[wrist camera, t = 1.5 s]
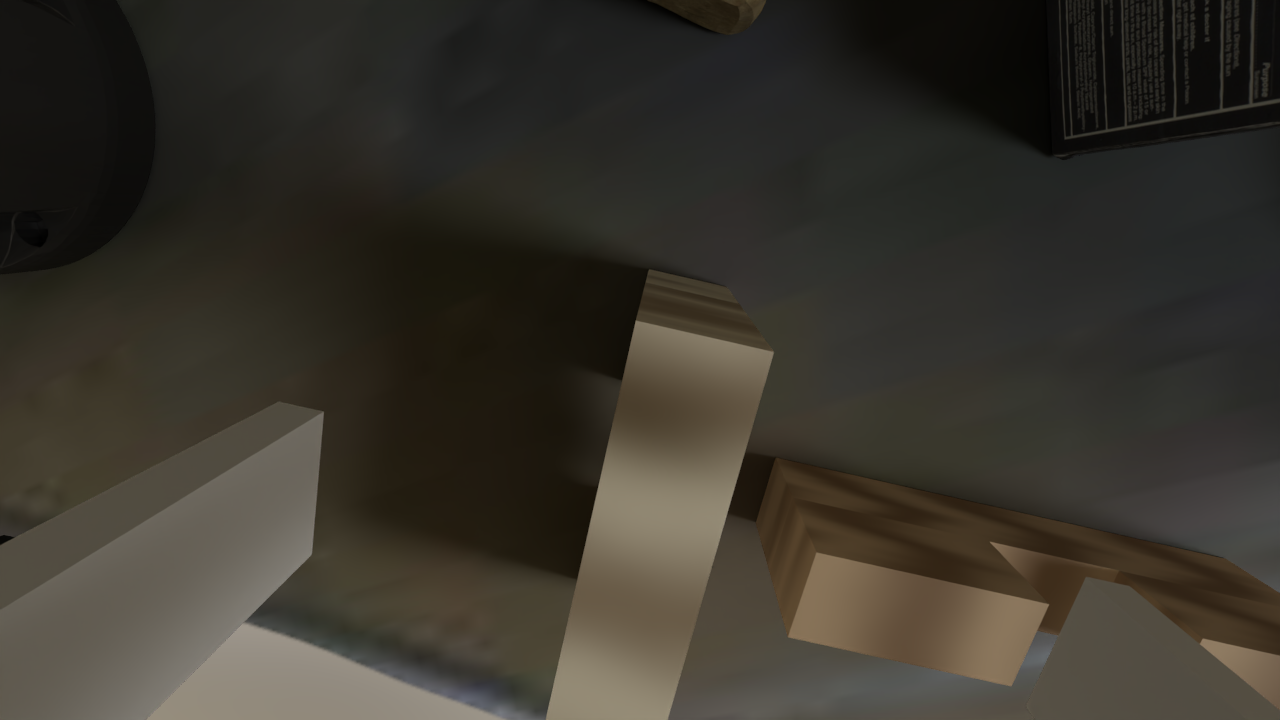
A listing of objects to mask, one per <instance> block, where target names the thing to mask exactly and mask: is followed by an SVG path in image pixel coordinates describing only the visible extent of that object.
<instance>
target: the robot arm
mask: <svg viewBox="0 0 1280 720" xmlns="http://www.w3.org/2000/svg"><path fill="white" fill-rule="evenodd" d="M154 145H155V114H154V103H153V97H152V90H151V86H150V81H149V77H148V73H147V69H146V66H145V62H144V59H143V56H142V54H141V51H140V48H139V45H138V43H137V41H136V38H135V36H134V34H133V31H132V29H131V27H130V25H129V23H128V21H127V19H126V17H125V15H124V14H123V12H122V10H121V8H120V7H119V5H118V3H117V2H116V0H0V274H9V273H19V272H28V271H38V270H46V269H52V268H56V267H61V266H64V265H67V264H70V263H73V262H75V261H78V260H80V259H82V258H84V257H86V256H88V255H90V254H92V253H93V252H95V251H96V250H98V249H100V248H101V247H102V246H103V245H105V244H106V243H107V242H109V241H110V240H111V239H112V238H113V237H114V236H115V235H116V234H117V233H118V232H119V231H120V230H121V228H122V227H123V226H124V225H125V224H126V222H127V221H128V219H129V218H130V217H131V215H132V214H133V212H134V210H135V208H136V207H137V205H138V203H139V201H140V199H141V197H142V195H143V192H144V189H145V187H146V184H147V181H148V177H149V174H150V170H151V165H152V160H153V153H154ZM323 417H324V411H319V410H315V409H310V408H305V407H301V406H296V405H292V404H287V403H282V402H277V403H275V404H273V405H271V406H269V407H267V408H265V409H264V410H262V411H260V412H258V413H256V414H254V415H252V416H250V417H248V418H246V419H244V420H242V421H240V422H238V423H236V424H234V425H232V426H231V427H229V428H227V429H225V430H223V431H221V432H219V433H217V434H215V435H213V436H211V437H209V438H207V439H205V440H203V441H201V442H199V443H198V444H196V445H194V446H192V447H190V448H188V449H186V450H184V451H182V452H180V453H178V454H176V455H174V456H172V457H170V458H168V459H167V460H165V461H163V462H161V463H159V464H157V465H155V466H153V467H151V468H149V469H147V470H145V471H143V472H141V473H139V474H137V475H135V476H134V477H132V478H130V479H128V480H126V481H124V482H122V483H120V484H118V485H116V486H114V487H112V488H110V489H108V490H106V491H104V492H103V493H101V494H99V495H97V496H95V497H93V498H91V499H89V500H87V501H85V502H83V503H81V504H79V505H77V506H75V507H73V508H71V509H70V510H68V511H66V512H64V513H62V514H60V515H58V516H56V517H54V518H52V519H50V520H48V521H46V522H44V523H42V524H40V525H38V526H37V527H35V528H33V529H31V530H29V531H27V532H25V533H23V534H21V535H19V536H17V537H11V536H6V535H3V536H0V720H146V719H147V718H148V717H149V716H150V715H151V714H152V713H153V712H154V711H155V710H156V709H157V708H158V707H159V706H160V705H161V704H162V703H163V702H164V701H165V700H166V699H167V698H168V697H169V696H170V695H171V694H172V693H173V692H174V691H175V690H176V689H177V688H178V687H179V686H180V685H181V684H182V683H183V682H184V681H185V680H186V679H187V678H188V677H189V676H190V675H191V674H192V673H193V672H194V671H195V670H196V669H197V668H198V667H199V666H200V665H201V664H202V663H203V662H204V661H205V660H206V659H207V658H208V657H209V656H210V655H211V654H212V653H213V652H214V651H215V650H216V649H217V648H218V647H219V646H220V645H221V644H222V643H223V642H224V641H225V640H226V639H227V638H228V637H229V636H230V635H231V634H232V633H233V632H234V631H235V630H236V629H237V628H238V627H239V626H240V625H241V624H242V623H243V622H245V621H246V620H247V619H248V618H249V617H250V616H251V615H252V614H253V613H254V612H255V611H256V610H257V609H258V608H259V607H260V606H261V605H262V604H263V603H264V602H265V601H266V600H267V599H268V598H269V597H270V596H271V595H272V594H273V593H274V592H275V591H276V590H277V589H278V588H279V587H280V586H281V585H282V584H283V583H284V582H285V581H286V580H287V579H288V578H289V577H290V576H291V575H292V574H293V573H294V572H295V571H296V570H297V569H298V568H299V567H300V566H301V565H302V564H303V563H304V562H305V561H306V560H307V559H308V558H309V557H310V556H311V555H312V546H313V534H314V522H315V511H316V499H317V487H318V476H319V464H320V452H321V441H322V429H323ZM1026 708H1027V709H1028V711H1029V712H1030V714H1031V715H1032V716H1033V718H1034V719H1035V720H1280V710H1279V709H1278V708H1276V707H1275V706H1274V705H1273V704H1272V703H1270V702H1269V701H1268V700H1267V699H1266V698H1264V697H1263V696H1262V695H1261V694H1260V693H1258V692H1257V691H1256V690H1255V689H1253V688H1252V687H1251V686H1250V685H1249V684H1247V683H1246V682H1245V681H1244V680H1243V679H1241V678H1240V677H1239V676H1238V675H1237V674H1235V673H1234V672H1233V671H1232V670H1231V669H1229V668H1228V667H1227V666H1226V665H1224V664H1223V663H1222V662H1221V661H1220V660H1218V659H1217V658H1216V657H1215V656H1214V655H1212V654H1211V653H1210V652H1209V651H1208V650H1206V649H1205V648H1204V647H1203V646H1201V645H1200V644H1199V643H1198V642H1197V641H1195V640H1194V639H1193V638H1192V637H1191V636H1189V635H1188V634H1187V633H1186V632H1185V631H1183V630H1182V629H1181V628H1180V627H1178V626H1177V625H1176V624H1175V623H1174V622H1172V621H1171V620H1170V619H1169V618H1168V617H1166V616H1165V615H1164V614H1163V613H1162V612H1160V611H1159V610H1158V609H1157V608H1155V607H1154V606H1153V605H1152V604H1151V603H1149V602H1148V601H1147V600H1146V599H1145V598H1143V597H1142V596H1141V595H1140V594H1139V593H1137V592H1136V591H1135V590H1134V589H1133V588H1131V587H1130V586H1127V585H1122V584H1118V583H1113V582H1108V581H1104V580H1099V579H1094V578H1090V577H1086V578H1085V580H1084V582H1083V584H1082V586H1081V589H1080V591H1079V593H1078V595H1077V597H1076V599H1075V601H1074V604H1073V606H1072V608H1071V610H1070V612H1069V614H1068V617H1067V619H1066V621H1065V623H1064V625H1063V627H1062V629H1061V632H1060V634H1059V636H1058V638H1057V640H1056V642H1055V644H1054V647H1053V649H1052V651H1051V653H1050V655H1049V657H1048V659H1047V662H1046V664H1045V666H1044V668H1043V670H1042V672H1041V674H1040V677H1039V679H1038V681H1037V683H1036V685H1035V687H1034V689H1033V692H1032V694H1031V696H1030V698H1029V700H1028V702H1027V704H1026Z"/></svg>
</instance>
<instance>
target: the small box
mask: <svg viewBox="0 0 1280 720" xmlns="http://www.w3.org/2000/svg"><path fill="white" fill-rule="evenodd" d="M1046 11H1047V39H1048V64H1049V89H1050V95H1049V96H1050V114H1051V138H1052V155H1054V156H1056V157H1057V158H1060V159H1062V160H1067V159H1070V158H1073V157H1074V156H1077V155H1079V156H1080V155H1083V154H1089V153H1096V152H1104V151H1111V150H1119V149H1127V148H1135V147H1144V146H1151V145H1158V144H1164V143H1171V142H1179V141H1186V140H1194V139H1200V138H1209V137H1216V136H1222V135H1230V134H1237V133H1245V132H1251V131H1257V130H1266V129H1273V128H1280V0H1046Z"/></svg>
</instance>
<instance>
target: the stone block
mask: <svg viewBox="0 0 1280 720" xmlns="http://www.w3.org/2000/svg"><path fill="white" fill-rule="evenodd" d="M648 1H650V2H653V3H656V4H658V5H660V6H662V7H664V8H666V9H668V10H670V11H672V12H674V13H676V14H678V15H680V16H682V17H684V18H686V19H688V20H690V21H692V22H694V23H696V24H698V25H700V26H702V27H705V28H707V29H710V30H712V31H715V32H718V33H722V34H726V35H730V34H735V33H740V32H743V31H744V30H746V29H747V28H748V27H749V26H750V25H751V24H752V23H753V21H754V20H755V19H756V18H757V17H758V15H759V14H760V13H761V11H762V9H763V7H764V4H765V2H766V0H648Z"/></svg>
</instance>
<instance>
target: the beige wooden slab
mask: <svg viewBox="0 0 1280 720" xmlns="http://www.w3.org/2000/svg"><path fill="white" fill-rule="evenodd" d="M773 354H774V351H773V350H772V349H771V347H770V346H769V344H768V343H767V342H766V340H765V339H764V338H763V336H762V335H761V333H760V332H759V331H758V329H757V328H756V327H755V325H754V324H753V322H752V321H751V320H750V318H749V317H748V315H747V314H746V313H745V311H744V310H743V309H742V307H741V306H740V304H739V303H738V302H737V300H736V299H735V298H734V296H733V295H732V293H731V292H730V291H729V289H728V288H727V287H725V286H720V285H716V284H712V283H707V282H703V281H699V280H694V279H690V278H686V277H681V276H677V275H673V274H668V273H664V272H659V271H655V270H651V269H649V271H648V275H647V279H646V282H645V286H644V290H643V294H642V298H641V302H640V306H639V310H638V314H637V318H636V322H635V326H634V331H633V335H632V340H631V344H630V349H629V353H628V358H627V362H626V366H625V371H624V375H623V380H622V384H621V389H620V393H619V397H618V402H617V406H616V411H615V415H614V420H613V424H612V428H611V433H610V437H609V442H608V446H607V451H606V455H605V460H604V464H603V468H602V473H601V477H600V482H599V486H598V491H597V495H596V499H595V504H594V508H593V513H592V517H591V522H590V526H589V530H588V535H587V539H586V544H585V548H584V553H583V557H582V561H581V566H580V570H579V575H578V579H577V584H576V588H575V593H574V597H573V601H572V606H571V610H570V615H569V619H568V624H567V628H566V632H565V637H564V641H563V646H562V650H561V655H560V659H559V663H558V668H557V672H556V677H555V681H554V686H553V690H552V695H551V699H550V703H549V708H548V712H547V717H546V720H668V716H669V713H670V710H671V706H672V703H673V699H674V696H675V692H676V689H677V685H678V682H679V678H680V675H681V672H682V668H683V665H684V661H685V658H686V654H687V651H688V647H689V644H690V640H691V637H692V634H693V630H694V627H695V623H696V620H697V616H698V613H699V609H700V606H701V602H702V599H703V596H704V592H705V589H706V585H707V582H708V578H709V575H710V571H711V568H712V564H713V561H714V558H715V554H716V551H717V547H718V544H719V540H720V537H721V533H722V530H723V527H724V523H725V520H726V516H727V513H728V509H729V506H730V502H731V499H732V495H733V492H734V489H735V485H736V482H737V478H738V475H739V471H740V468H741V464H742V461H743V457H744V454H745V451H746V447H747V444H748V440H749V437H750V433H751V430H752V426H753V423H754V419H755V416H756V413H757V409H758V406H759V402H760V399H761V395H762V392H763V388H764V385H765V381H766V378H767V375H768V371H769V368H770V364H771V361H772V357H773Z"/></svg>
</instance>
